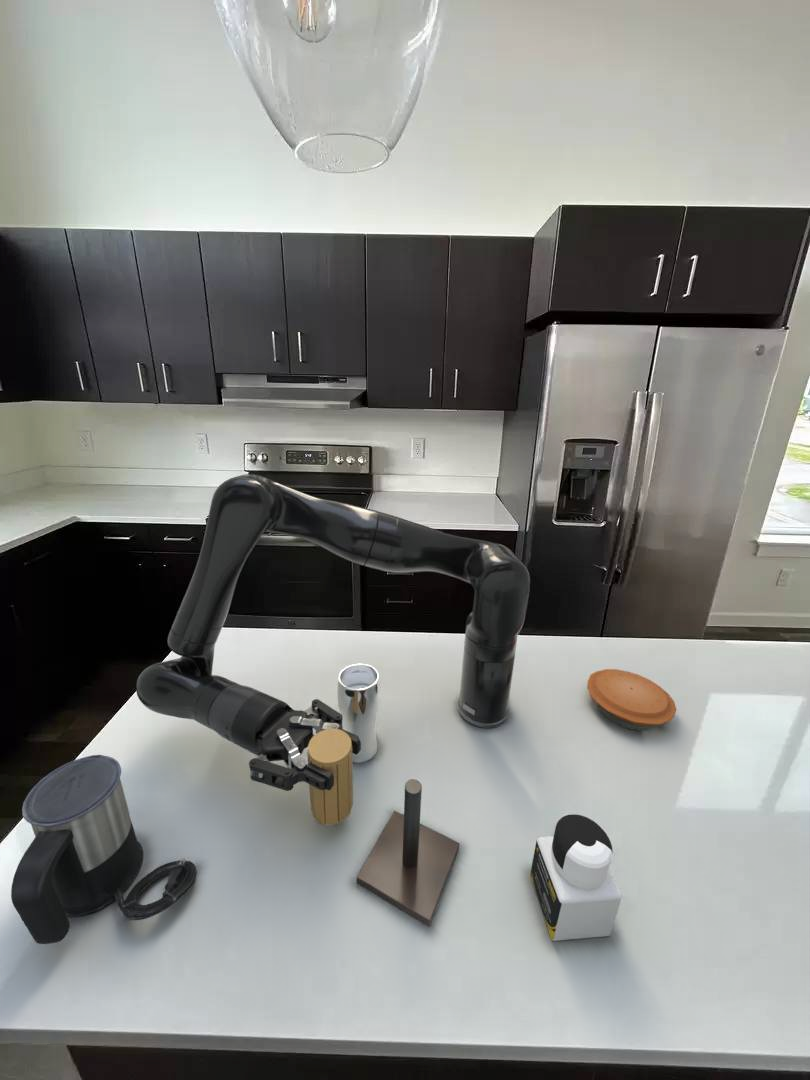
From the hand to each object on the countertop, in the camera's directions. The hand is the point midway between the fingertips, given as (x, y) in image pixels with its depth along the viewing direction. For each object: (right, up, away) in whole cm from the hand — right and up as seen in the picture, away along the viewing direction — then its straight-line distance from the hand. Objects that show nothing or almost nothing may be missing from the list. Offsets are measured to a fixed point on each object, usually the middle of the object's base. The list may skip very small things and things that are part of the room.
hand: (346, 764), depth 55 cm
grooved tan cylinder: (-3, -8, +4) cm, 9 cm away
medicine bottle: (+27, -16, -3) cm, 32 cm away
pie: (+51, -4, +29) cm, 59 cm away
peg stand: (+8, -13, 0) cm, 16 cm away
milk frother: (-27, -14, -2) cm, 30 cm away
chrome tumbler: (0, -7, +18) cm, 19 cm away
